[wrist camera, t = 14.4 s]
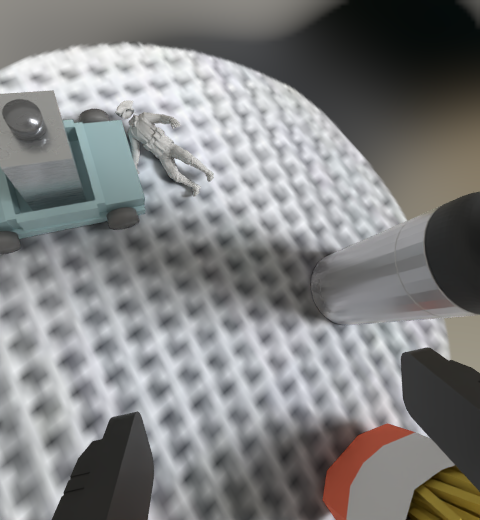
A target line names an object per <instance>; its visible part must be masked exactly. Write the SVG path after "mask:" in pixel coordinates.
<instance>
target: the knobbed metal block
mask: <svg viewBox="0 0 480 520" xmlns="http://www.w3.org/2000/svg"><path fill="white" fill-rule="evenodd" d="M0 167H1V169H2V170H3V172H4V173H5V174H6V176H7V177H8V178H9V180H10V181H11V182H12V184H13V185H14V186H15V188H16V189H17V190H18V192H19V193H20V194H21V196H22V197H23V198H24V199H25V201H26V202H27V203H28V205H29V206H30V207H31V209H32V210H33V211H37V210H43V209H49V208H54V207H60V206H66V205H71V204H77V203H83V202H87V201H86V198H85V194H84V191H83V187H82V184H81V180H80V177H79V173H78V170H77V166H76V162H75V159H74V155H73V152H72V149H71V145H70V142H69V139H68V136H67V132H66V129H65V126H64V123H63V120H62V116H61V113H60V110H59V107H58V103H57V100H56V97H55V94H54V91H39V92H24V93H8V94H0Z"/></svg>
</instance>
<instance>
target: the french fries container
mask: <svg viewBox="0 0 480 520" xmlns="http://www.w3.org/2000/svg"><path fill="white" fill-rule="evenodd" d="M323 502H324V503H325V505H326V506H327V508H328V509H329V510H330V512H331V513H332V515H333V516H334V518H335V519H336V520H480V492H479V491H478V490H477V488H476V487H475V486H474V485H473V484H472V483H471V482H470V481H469V480H468V479H467V477H466V476H465V475H464V474H463V473H462V472H461V471H460V470H459V469H458V468H457V467H456V465H455V464H454V463H453V462H452V461H451V460H450V459H449V458H448V457H447V456H446V454H445V453H444V452H443V451H442V450H441V449H440V448H439V447H438V446H437V445H436V444H435V442H434V441H433V440H432V439H430V438H428V437H425V436H423V435H420V434H418V433H416V432H412V431H409V430H406V429H403V428H400V427H397V426H394V425H391V424H385V425H382V426H380V427H377V428H375V429H372V430H370V431H367V432H365V433H362V434H360V435H358V436H357V437H356V438H355V439H354V441H353V442H352V443H351V444H350V445H349V446H348V447H347V449H346V450H345V451H344V452H343V453H342V454H341V455H340V457H339V458H338V459H337V460H336V461H335V462H334V463H333V464H332V466H331V467H330V468H329V469H328V470H327V474H326V481H325V487H324V494H323Z"/></svg>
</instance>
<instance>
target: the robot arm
mask: <svg viewBox="0 0 480 520" xmlns="http://www.w3.org/2000/svg"><path fill="white" fill-rule="evenodd" d="M311 292H312V296H313V299H314V302H315V304H316V306H317V307H318V309H319V310H320V312H321V313H322V314H323V315H324V316H325V317H326V318H327V319H329V320H331V321H332V322H334V323H337V324H340V325H357V324H371V323H384V322H398V321H411V320H424V319H437V318H449V317H460V316H473V315H480V192H476V193H471V194H468V195H465V196H462V197H460V198H457V199H455V200H453V201H450V202H449V203H446V204H444V205H442V206H440V207H438V208H435V209H433V210H431V211H429V212H426V213H424V214H422V215H419V216H417V217H415V218H413V219H411V220H408V221H406V222H404V223H401V224H399V225H397V226H394V227H392V228H390V229H388V230H385V231H383V232H381V233H378V234H376V235H374V236H372V237H369V238H367V239H365V240H362V241H360V242H358V243H355V244H353V245H351V246H349V247H346V248H344V249H341V250H339V251H337V252H335V253H332V254H330V255H328V256H326V257H324V258H323V259H322V260H321V261H320V262H319V263H318V264H317V265H316V267H315V268H314V271H313V274H312V278H311ZM401 372H402V391H403V400H404V403H405V406H406V409H407V411H408V412H409V414H410V416H411V417H412V418H413V419H414V421H415V422H416V423H417V424H418V425H419V426H420V427H421V428H422V429H423V430H424V431H425V433H426V434H427V435H428V436H429V437H430V438H431V439H432V440H433V441H434V442H435V444H436V445H437V446H438V447H439V448H440V449H441V450H442V451H443V452H444V453H445V454H446V456H447V457H448V458H449V459H450V460H451V461H452V462H453V463H454V464H455V465H456V467H457V468H458V469H459V470H460V471H461V472H462V473H463V474H464V475H465V476H466V477H467V479H468V480H469V481H470V482H471V483H472V484H473V485H474V486H475V487H476V488H477V490H478V491H479V492H480V373H479V372H477V371H476V370H474V369H473V368H471V367H468V366H466V365H463V364H460V363H458V362H455V361H453V360H449V361H448V360H447V359H445V358H444V357H442V356H441V355H440V354H438V353H437V352H435V351H434V350H433V349H431V348H423V349H418V350H414V351H409V352H405V353H403V354H402V356H401ZM70 477H71V479H70V480H69V481H68V483H67V486H66V488H65V490H64V496H62V497H61V500H60V502H59V504H58V506H57V509H56V511H55V513H54V516H53V518H52V520H148V513H149V507H150V500H151V493H152V487H153V479H154V464H153V457H152V452H151V449H150V445H149V442H148V438H147V435H146V431H145V427H144V424H143V420H142V417H141V415H140V413H139V412H134V413H129V414H125V415H120V416H116V417H112V418H111V419H110V420H109V423H108V425H107V428H106V431H105V433H104V436H103V439H101V440H96V441H93V442H92V443H91V444H90V445H89V446H88V447H87V449H86V450H85V451H84V452H83V453H82V455H81V456H80V457H79V458H78V460H77V463H76V465H75V467H74V470H73V472H72V474H71V476H70Z"/></svg>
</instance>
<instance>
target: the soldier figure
mask: <svg viewBox="0 0 480 520" xmlns="http://www.w3.org/2000/svg"><path fill="white" fill-rule="evenodd" d="M132 104H133V101H123V102H122V103H121V104H120V105H119V106H118V107H117V112H115V113H116V114H117V115H118V116H120V117H121V118H124V119H127V118H129V117H131V115H132V114H133V112H134V110H133V109H132ZM135 113H136V112H135ZM154 123H163V124H170V123H171V126H172V128H173V129H174V127H175V128H176V126H177V125H178V126H177V127H179V126H181V125H180V123H179V122H178V121H177V120H176V119H174V118H173V117H170V116H166V115H163V114H162V115H160V114H153V113H145V112H143V113H142V114H140V115H139V116H137V115H134V116H133V117H132V118H131V120H129V125H130V128H129V130H128V132H127V133H128V135H129V139H130V143H131V147H132V157H133V161H134V164H135V167H136V171H137V172H138V170H137V165H138V161H139V156H140V148H139V147H140V145H139V144H140V142H141V143H142V144H144V145H143V147H144V148H145V149H146V150H147V151H150V152H152V153H153V154H154V155H155V156H156V157H157V158H159V159H160V161H161V163H162V165H163V167H164V169H165V170H166V172H167V174H168V175H169V177H170V178H171V179H174V180H175V182H179V183H182V184H185V185H187V186H188V187H192V188H193V196H194V197H195V196H196V195H198V193H199V189H200V188H201V187H200V186H199V185H198V184H195V183H194V182H192V181H190V180H189V179H187V178H186V177H185V176H184V175H182V174H181V173H180V172H179V171H178V169H177V166H176V164H175V161H174V158H176V159H179V160H181V161H182V162H184V163H185V164H188V165H189V164H190V165H191V166H194V167H195V168H197V169H199V170H201V171H203V172H204V173H205V174H206V177H207V181H208V182H210V181H211V180H212V179H213V178H214V177H213V175H214V173H212V172H211V171H210V170H208V169H207V168H206V167H205V166H204V165H203V164H202V163H201V162H200V161H199V160H198V159H196V158H195V157H194V156H193V155H191V153H190V152H189V151H187V150H184V149H182V148H181V147H179V146H177V145H175V144H174V142H173V141H172V140H171V139H170V138H168V137H167V136H165V135H164V133H165V132H164V131H163V130H162V129H160V128H159V127H158V129H157V128H156V126H155V124H154ZM176 123H177V124H176ZM173 125H174V127H173ZM175 125H176V126H175ZM139 141H140V142H139ZM138 173H139V172H138ZM138 173H137V174H138Z"/></svg>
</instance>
